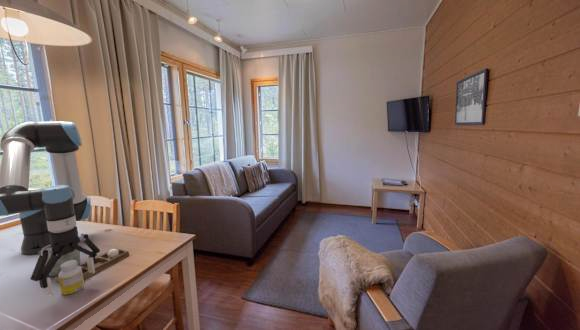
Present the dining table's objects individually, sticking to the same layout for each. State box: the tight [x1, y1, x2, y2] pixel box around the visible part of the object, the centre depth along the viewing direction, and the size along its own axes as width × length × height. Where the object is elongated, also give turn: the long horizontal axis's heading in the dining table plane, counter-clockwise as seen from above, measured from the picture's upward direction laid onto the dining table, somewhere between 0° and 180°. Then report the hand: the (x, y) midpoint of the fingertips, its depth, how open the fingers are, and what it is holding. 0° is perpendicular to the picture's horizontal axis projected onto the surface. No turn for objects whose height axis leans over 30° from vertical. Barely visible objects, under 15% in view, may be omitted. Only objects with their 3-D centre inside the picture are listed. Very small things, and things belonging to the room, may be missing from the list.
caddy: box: [54, 247, 130, 285], centre depth 106 cm, size 9×24×2 cm, turn 161°
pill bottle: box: [58, 260, 85, 297], centre depth 91 cm, size 6×6×12 cm
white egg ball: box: [106, 248, 119, 259], centre depth 113 cm, size 4×4×4 cm
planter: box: [42, 242, 81, 277], centre depth 104 cm, size 12×12×11 cm
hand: (72, 282), depth 91 cm, fingers open, 13 cm apart
